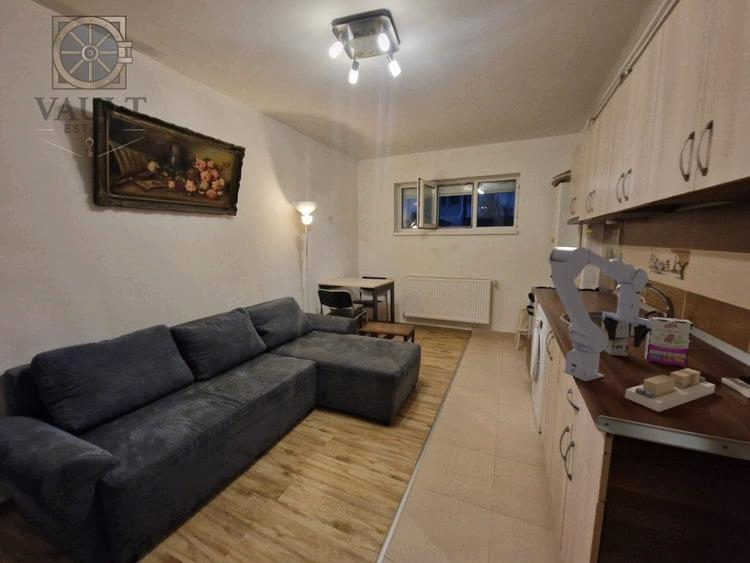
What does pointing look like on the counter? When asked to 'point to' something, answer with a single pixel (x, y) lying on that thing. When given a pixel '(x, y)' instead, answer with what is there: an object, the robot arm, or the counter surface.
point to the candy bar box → (668, 341)
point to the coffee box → (618, 337)
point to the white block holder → (666, 392)
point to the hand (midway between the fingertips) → (623, 343)
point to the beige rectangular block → (686, 378)
